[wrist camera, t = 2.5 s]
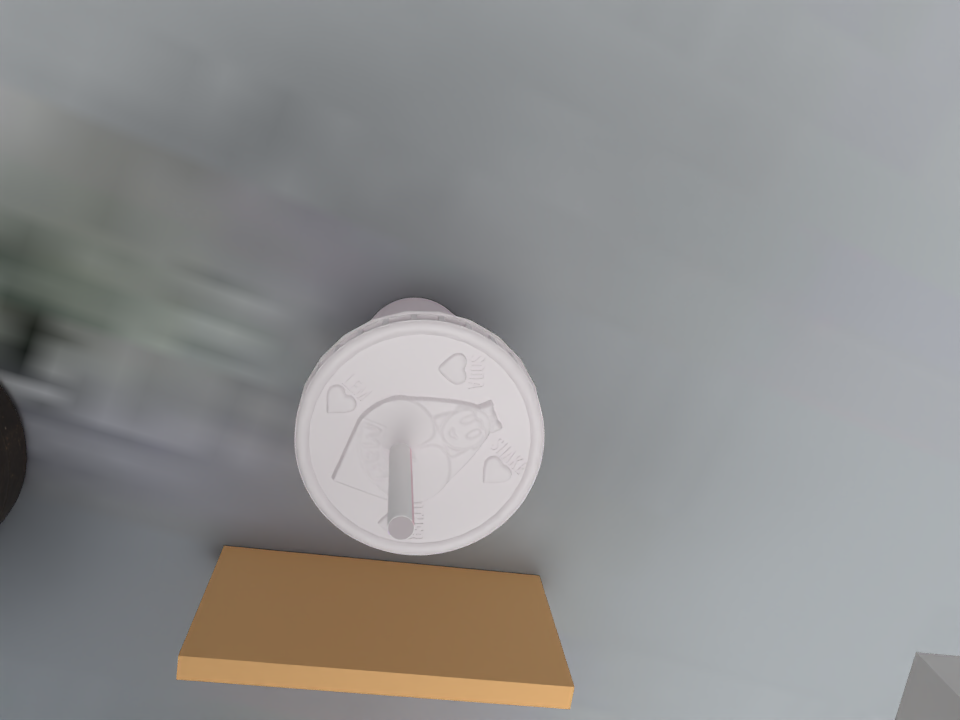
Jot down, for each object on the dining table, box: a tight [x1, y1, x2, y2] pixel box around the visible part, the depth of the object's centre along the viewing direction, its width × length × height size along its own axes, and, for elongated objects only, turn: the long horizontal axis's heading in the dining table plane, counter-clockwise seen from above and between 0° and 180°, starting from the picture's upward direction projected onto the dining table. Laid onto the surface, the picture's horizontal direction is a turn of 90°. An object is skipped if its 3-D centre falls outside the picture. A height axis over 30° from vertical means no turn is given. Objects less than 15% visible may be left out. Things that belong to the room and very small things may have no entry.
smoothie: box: [294, 298, 544, 555], centre depth 24 cm, size 6×6×14 cm
